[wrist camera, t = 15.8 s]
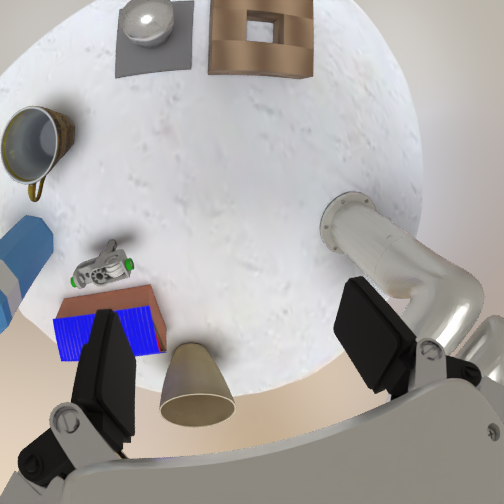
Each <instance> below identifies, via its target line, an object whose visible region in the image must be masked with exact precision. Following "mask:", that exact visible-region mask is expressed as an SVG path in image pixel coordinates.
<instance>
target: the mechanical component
mask: <svg viewBox="0 0 504 504" xmlns="http://www.w3.org/2000/svg"><path fill="white" fill-rule="evenodd" d="M116 247H117V244H116V245H115V240H110V241H109V243H108V245H107V247H106V249H105V251H102V252H101V253H100V255H99V257H96V258H93V259H90V260H88V261H85V262H82V263H81V264H79V265H78V266H77V268H76V270H75V271H74V274H73V277H72V278H71V284H72V286H73V287H74V288H75V287H78V288H79V289H82V288H84V287H85V286H86V284H89V283H92V282H93V283H94V284H95V285H97V286H105V285H106V284H109V283H112V282H115V281H118V280H122V279H125V278H128V277H130V273H131V270H133V269H134V263H133V261H132V259H131V258H129V259H127V256H126V254H125V252H124V250H117V251H115V249H116ZM123 271H124V273H123V274H122V275H121V276H119V277H116V278H113V277H115V276H118V275H120V274H121V273H122V272H123Z"/></svg>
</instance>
